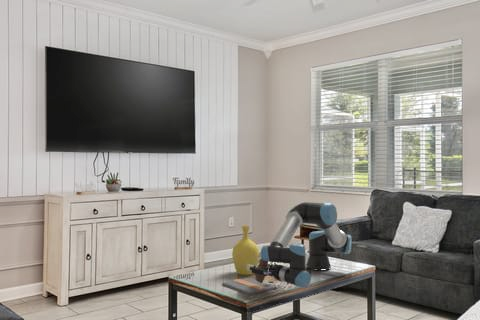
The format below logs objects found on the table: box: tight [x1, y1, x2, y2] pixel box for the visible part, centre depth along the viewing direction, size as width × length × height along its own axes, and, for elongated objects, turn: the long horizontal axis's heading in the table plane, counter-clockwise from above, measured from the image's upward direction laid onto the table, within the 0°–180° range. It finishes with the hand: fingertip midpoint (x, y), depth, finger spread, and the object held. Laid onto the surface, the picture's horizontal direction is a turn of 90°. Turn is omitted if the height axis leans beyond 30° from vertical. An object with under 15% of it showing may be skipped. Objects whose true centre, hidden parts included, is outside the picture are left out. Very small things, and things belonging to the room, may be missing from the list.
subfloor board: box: [221, 277, 278, 296], centre depth 241 cm, size 18×24×2 cm
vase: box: [231, 225, 260, 276], centre depth 273 cm, size 16×16×28 cm
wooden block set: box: [253, 257, 272, 283], centre depth 237 cm, size 18×9×10 cm, turn 162°
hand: (254, 265), depth 241 cm, fingers open, 9 cm apart
